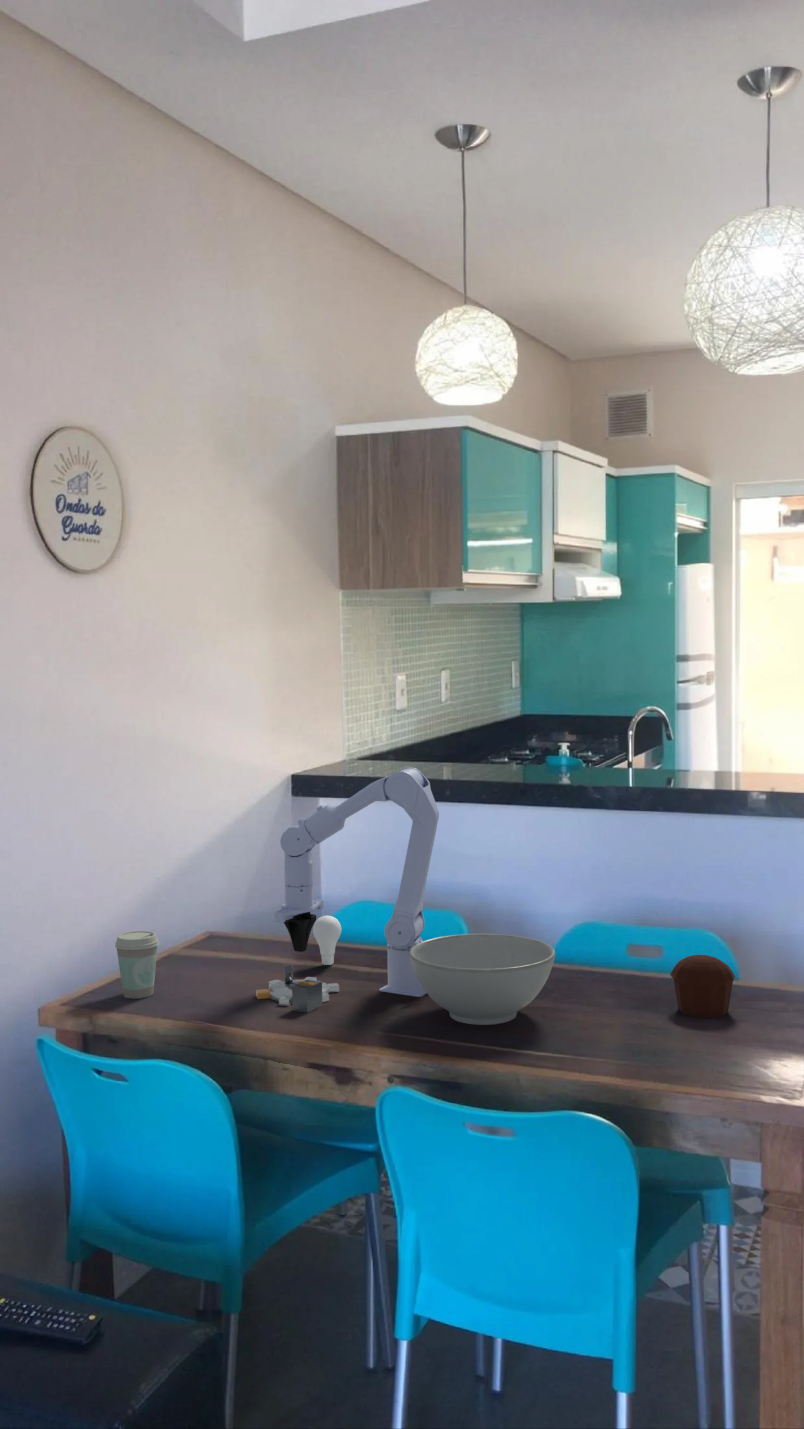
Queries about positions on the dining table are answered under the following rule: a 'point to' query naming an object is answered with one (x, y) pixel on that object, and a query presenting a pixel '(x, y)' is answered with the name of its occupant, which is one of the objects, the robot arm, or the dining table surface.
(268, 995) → the sprocket
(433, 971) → the decorative bowl
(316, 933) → the lightbulb
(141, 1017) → the dining table surface
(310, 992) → the banded cube
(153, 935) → the coffee cup
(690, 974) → the muffin
